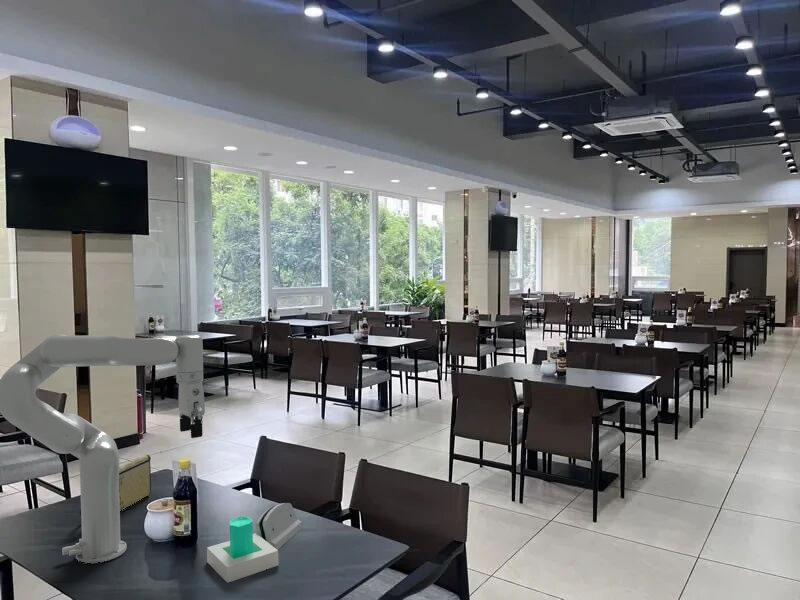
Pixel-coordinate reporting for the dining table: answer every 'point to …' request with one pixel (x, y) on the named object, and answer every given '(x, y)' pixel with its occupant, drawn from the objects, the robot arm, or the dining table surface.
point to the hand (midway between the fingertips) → (191, 433)
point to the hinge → (278, 524)
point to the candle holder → (242, 559)
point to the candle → (241, 537)
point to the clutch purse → (134, 481)
